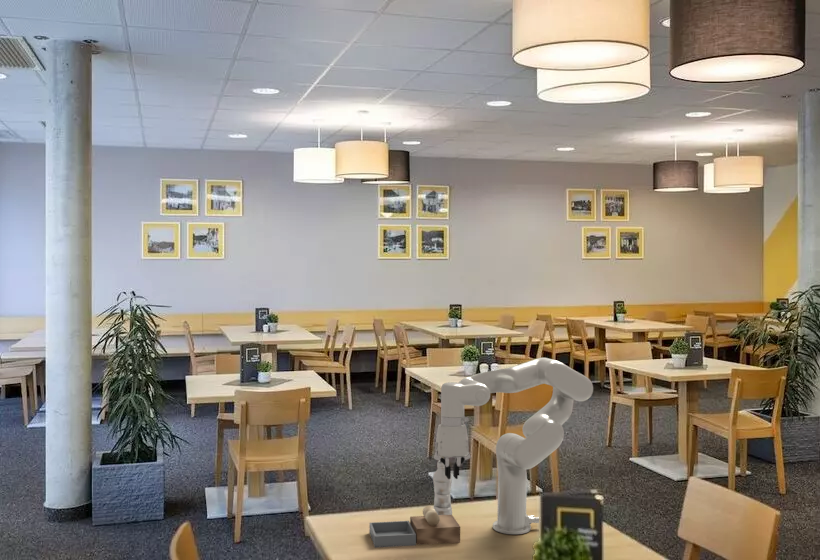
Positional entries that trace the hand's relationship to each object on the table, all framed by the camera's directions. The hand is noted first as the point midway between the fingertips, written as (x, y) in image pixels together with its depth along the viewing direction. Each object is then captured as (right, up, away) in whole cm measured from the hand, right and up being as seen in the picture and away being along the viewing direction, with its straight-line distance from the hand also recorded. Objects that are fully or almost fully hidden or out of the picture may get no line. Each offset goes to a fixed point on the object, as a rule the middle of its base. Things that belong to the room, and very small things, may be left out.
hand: (451, 477), depth 264 cm
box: (-19, -19, -3) cm, 27 cm away
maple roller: (-6, -14, -1) cm, 16 cm away
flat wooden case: (-6, -19, 0) cm, 20 cm away
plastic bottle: (-2, -19, +17) cm, 25 cm away
